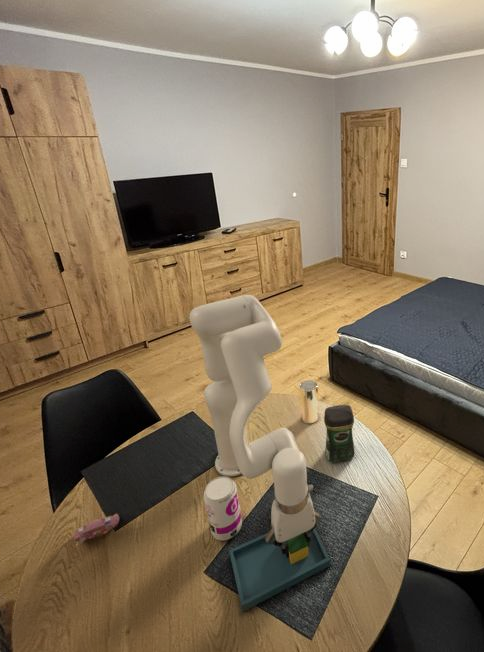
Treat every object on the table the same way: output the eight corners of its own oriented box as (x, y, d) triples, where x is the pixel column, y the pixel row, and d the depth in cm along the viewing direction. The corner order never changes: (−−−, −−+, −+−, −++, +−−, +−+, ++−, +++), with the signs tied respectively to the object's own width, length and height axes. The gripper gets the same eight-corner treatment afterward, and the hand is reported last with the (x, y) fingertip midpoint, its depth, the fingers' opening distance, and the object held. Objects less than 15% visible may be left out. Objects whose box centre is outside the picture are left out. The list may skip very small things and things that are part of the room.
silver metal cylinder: (316, 425, 136) (315, 392, 130) (298, 423, 137) (296, 390, 131) (321, 413, 142) (320, 380, 136) (304, 411, 144) (302, 378, 138)
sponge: (282, 539, 96) (281, 527, 94) (298, 531, 98) (298, 520, 96) (291, 564, 90) (290, 552, 88) (308, 556, 92) (307, 544, 90)
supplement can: (248, 518, 102) (241, 479, 96) (230, 546, 95) (223, 505, 89) (223, 509, 105) (215, 471, 99) (204, 536, 98) (195, 496, 92)
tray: (230, 556, 93) (229, 550, 92) (309, 519, 102) (308, 514, 101) (242, 612, 82) (241, 606, 81) (330, 565, 90) (330, 559, 89)
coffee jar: (351, 443, 128) (351, 399, 120) (356, 460, 121) (356, 415, 113) (323, 447, 126) (322, 403, 119) (327, 465, 119) (326, 420, 112)
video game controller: (79, 548, 97) (70, 542, 92) (78, 529, 99) (70, 523, 94) (121, 531, 101) (115, 525, 96) (120, 513, 103) (114, 507, 98)
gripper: (318, 472, 92) (320, 521, 100) (252, 498, 86) (259, 549, 93) (331, 495, 86) (332, 546, 93) (260, 526, 79) (267, 578, 87)
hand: (295, 547), depth 93 cm, fingers closed on sponge, 4 cm apart
